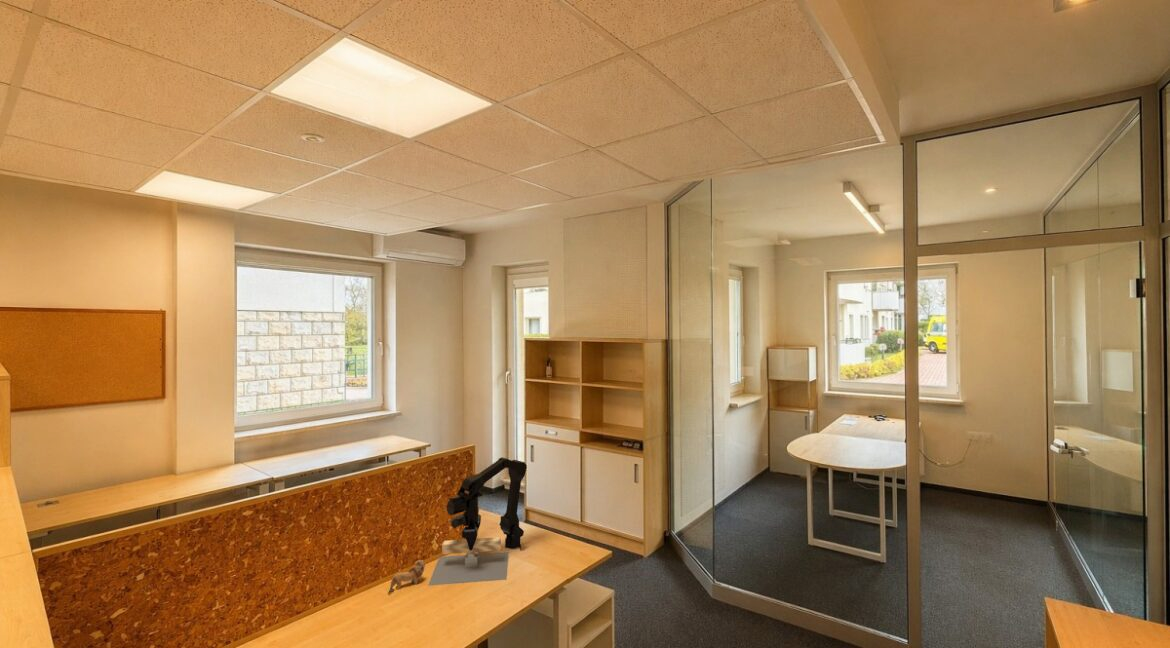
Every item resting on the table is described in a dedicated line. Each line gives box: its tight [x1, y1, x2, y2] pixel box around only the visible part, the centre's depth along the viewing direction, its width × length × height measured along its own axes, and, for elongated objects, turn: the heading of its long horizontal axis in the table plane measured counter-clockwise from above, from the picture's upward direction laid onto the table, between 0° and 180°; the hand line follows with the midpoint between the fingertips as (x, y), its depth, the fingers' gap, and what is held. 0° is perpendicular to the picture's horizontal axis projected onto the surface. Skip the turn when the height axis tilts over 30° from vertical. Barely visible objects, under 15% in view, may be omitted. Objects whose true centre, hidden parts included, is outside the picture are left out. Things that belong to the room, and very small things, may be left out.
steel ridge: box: [465, 552, 480, 568], centre depth 211 cm, size 5×8×5 cm, turn 7°
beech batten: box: [441, 536, 502, 555], centre depth 211 cm, size 24×4×4 cm, turn 97°
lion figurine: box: [387, 559, 426, 595], centre depth 193 cm, size 15×5×9 cm, turn 133°
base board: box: [428, 551, 509, 586], centre depth 207 cm, size 30×25×1 cm
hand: (472, 545), depth 211 cm, fingers open, 9 cm apart
